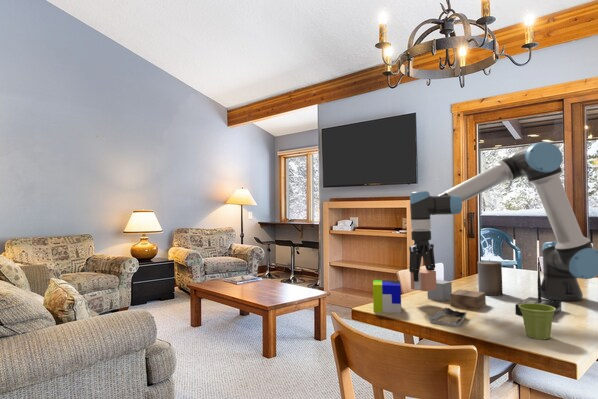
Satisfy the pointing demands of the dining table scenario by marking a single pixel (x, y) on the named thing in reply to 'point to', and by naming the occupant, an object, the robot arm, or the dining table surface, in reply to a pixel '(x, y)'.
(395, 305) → the puzzle toy
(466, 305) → the walnut base block
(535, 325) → the plant pot
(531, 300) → the wireless controller
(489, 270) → the pillar candle
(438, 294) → the slate grey cube
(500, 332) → the dining table surface
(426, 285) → the terracotta cube
